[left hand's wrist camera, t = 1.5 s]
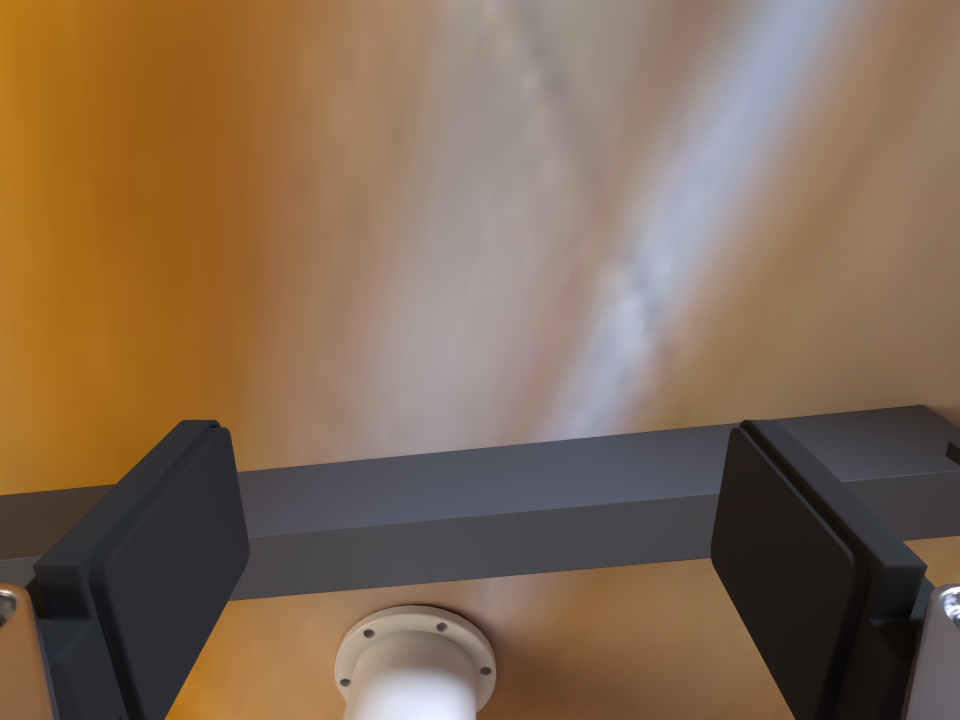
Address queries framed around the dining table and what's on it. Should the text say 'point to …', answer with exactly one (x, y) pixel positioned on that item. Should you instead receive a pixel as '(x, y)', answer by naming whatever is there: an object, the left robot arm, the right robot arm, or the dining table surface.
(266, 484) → the beam
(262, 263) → the dining table surface
